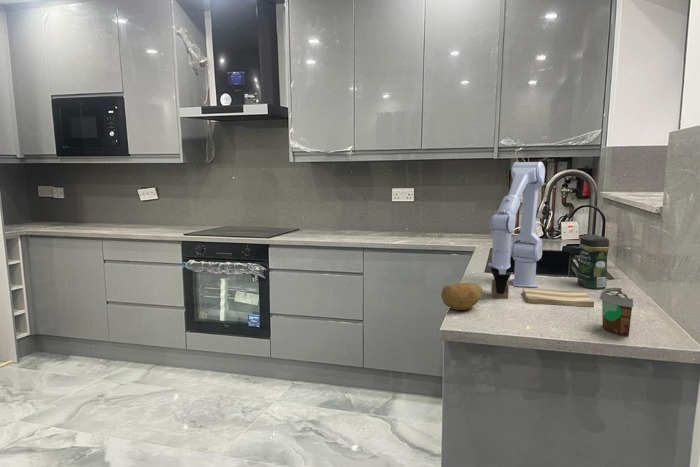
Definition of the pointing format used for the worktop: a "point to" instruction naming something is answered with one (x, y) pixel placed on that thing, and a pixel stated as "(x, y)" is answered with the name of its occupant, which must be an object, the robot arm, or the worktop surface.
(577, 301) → the oak board
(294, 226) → the worktop surface
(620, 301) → the food container
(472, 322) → the worktop surface
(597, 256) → the coffee jar
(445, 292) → the potato
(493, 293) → the walnut cube
